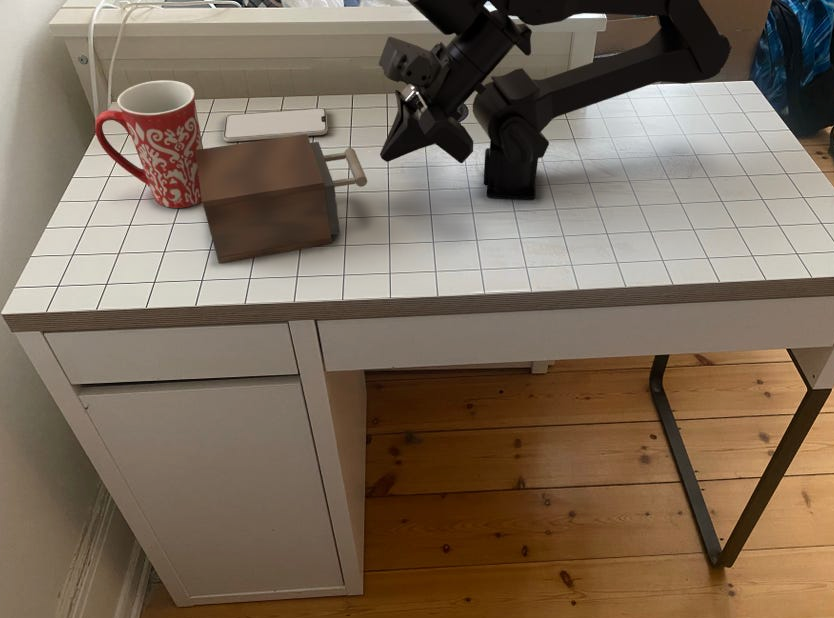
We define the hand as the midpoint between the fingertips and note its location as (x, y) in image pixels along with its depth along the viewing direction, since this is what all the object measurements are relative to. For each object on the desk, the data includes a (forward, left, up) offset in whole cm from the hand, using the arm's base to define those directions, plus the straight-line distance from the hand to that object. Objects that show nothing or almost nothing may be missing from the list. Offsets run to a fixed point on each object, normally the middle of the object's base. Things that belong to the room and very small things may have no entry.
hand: (383, 158), depth 92 cm
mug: (+29, 0, -7) cm, 30 cm away
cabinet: (+14, +6, -7) cm, 17 cm away
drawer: (+10, +4, -6) cm, 13 cm away
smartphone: (+19, -19, -7) cm, 28 cm away
